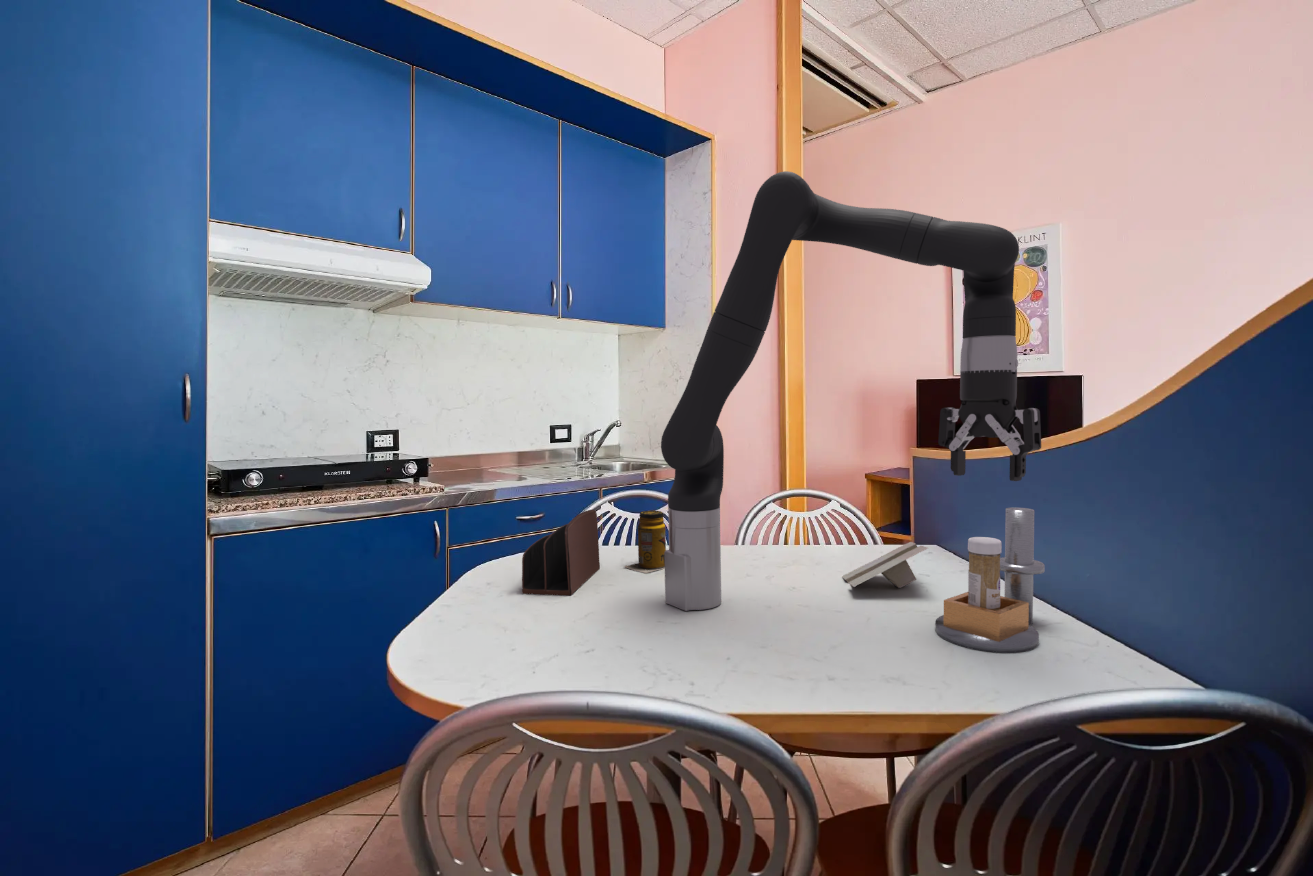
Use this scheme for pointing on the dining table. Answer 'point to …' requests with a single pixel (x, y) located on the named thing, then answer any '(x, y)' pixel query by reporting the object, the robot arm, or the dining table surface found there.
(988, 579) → the sprinkles bottle
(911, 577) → the tilted grey ramp
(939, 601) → the dining table surface
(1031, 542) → the caddy stand
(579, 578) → the letter holder
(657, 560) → the condiment
